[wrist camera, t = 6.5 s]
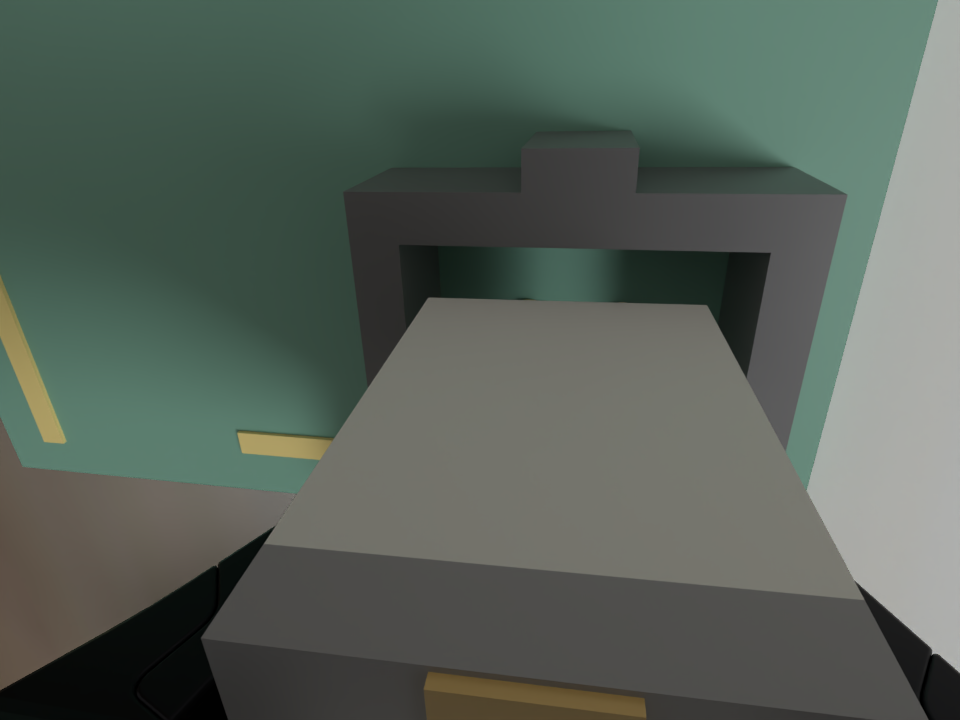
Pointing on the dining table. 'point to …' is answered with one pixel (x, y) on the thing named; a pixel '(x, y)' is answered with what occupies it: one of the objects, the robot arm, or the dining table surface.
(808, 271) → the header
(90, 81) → the board
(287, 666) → the grey box
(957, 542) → the dining table surface
